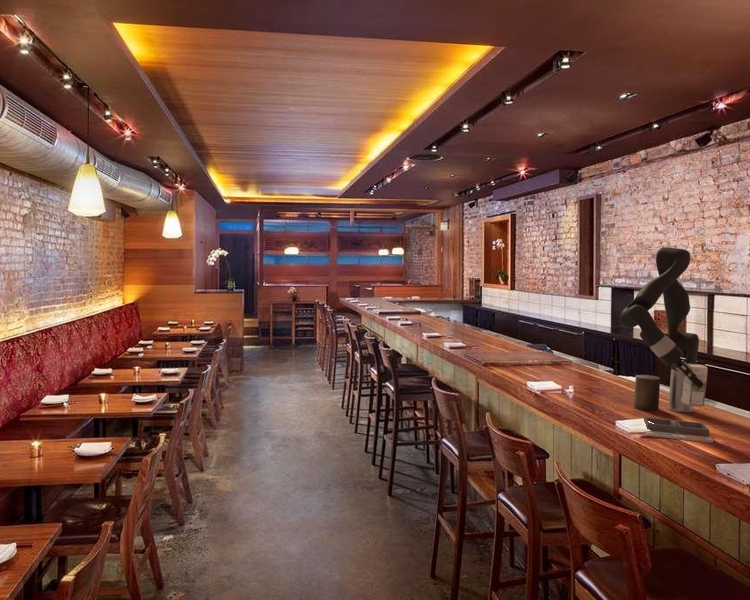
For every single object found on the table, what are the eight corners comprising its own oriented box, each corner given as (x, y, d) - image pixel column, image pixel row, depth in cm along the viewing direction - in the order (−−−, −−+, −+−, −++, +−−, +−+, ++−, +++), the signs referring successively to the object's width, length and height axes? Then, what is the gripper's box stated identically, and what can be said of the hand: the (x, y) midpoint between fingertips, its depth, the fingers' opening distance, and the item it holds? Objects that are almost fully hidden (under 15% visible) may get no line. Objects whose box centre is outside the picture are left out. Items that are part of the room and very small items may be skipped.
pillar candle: (661, 412, 245) (663, 376, 244) (636, 410, 247) (638, 374, 246) (654, 406, 255) (657, 372, 254) (630, 404, 257) (633, 370, 256)
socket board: (641, 425, 224) (641, 416, 224) (703, 431, 218) (704, 422, 218) (646, 435, 211) (647, 426, 210) (712, 442, 205) (713, 433, 204)
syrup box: (695, 402, 216) (698, 363, 215) (704, 406, 211) (708, 366, 209) (680, 401, 216) (683, 363, 215) (689, 406, 210) (692, 366, 209)
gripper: (678, 345, 207) (712, 381, 205) (670, 340, 221) (702, 374, 218) (660, 359, 209) (694, 395, 206) (654, 353, 223) (686, 387, 220)
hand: (698, 384), depth 212 cm, fingers closed on syrup box, 7 cm apart
